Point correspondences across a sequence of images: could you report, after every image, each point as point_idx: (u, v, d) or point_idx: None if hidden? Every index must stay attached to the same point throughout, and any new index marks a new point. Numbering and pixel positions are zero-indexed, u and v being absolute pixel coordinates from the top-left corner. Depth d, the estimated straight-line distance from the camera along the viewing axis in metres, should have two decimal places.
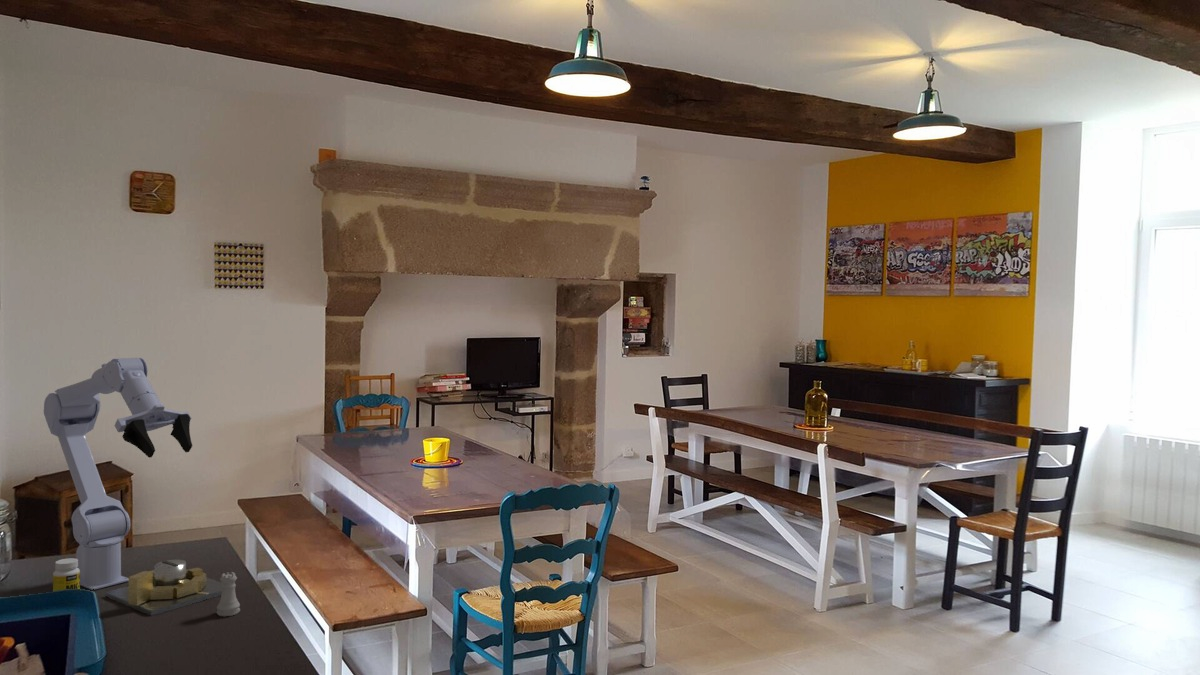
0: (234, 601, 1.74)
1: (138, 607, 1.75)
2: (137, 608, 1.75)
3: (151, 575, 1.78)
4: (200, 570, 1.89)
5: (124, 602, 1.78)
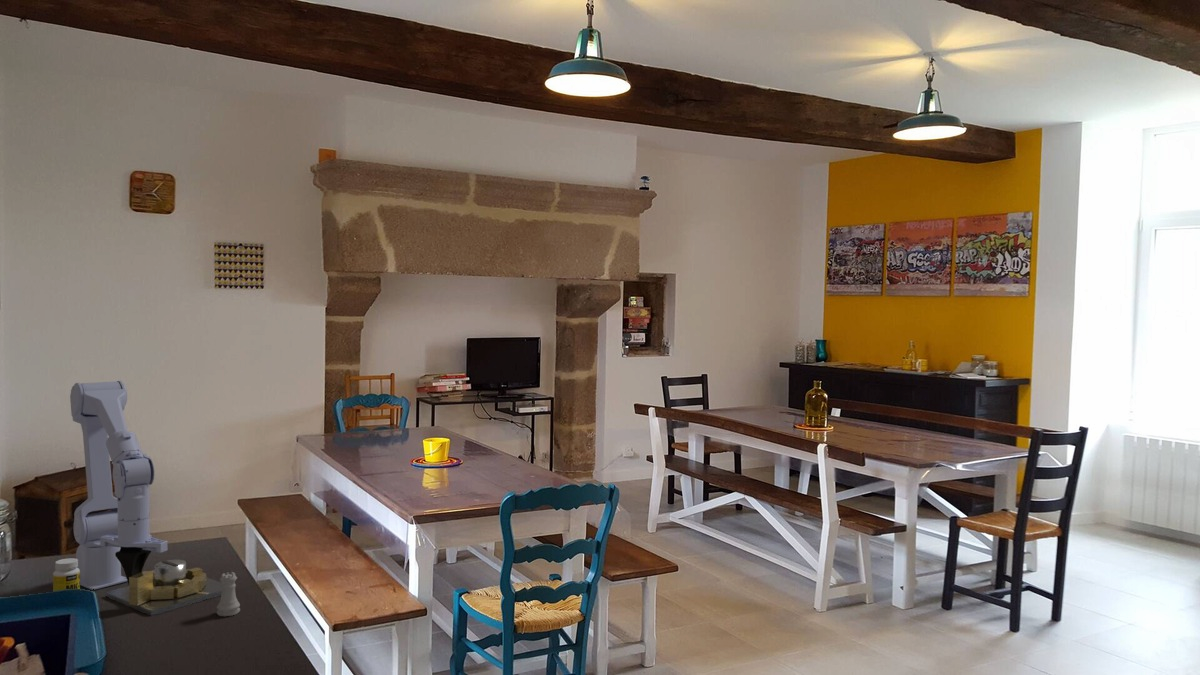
0: (234, 601, 1.74)
1: (138, 607, 1.75)
2: (137, 608, 1.75)
3: (151, 575, 1.78)
4: (200, 570, 1.90)
5: (124, 602, 1.78)
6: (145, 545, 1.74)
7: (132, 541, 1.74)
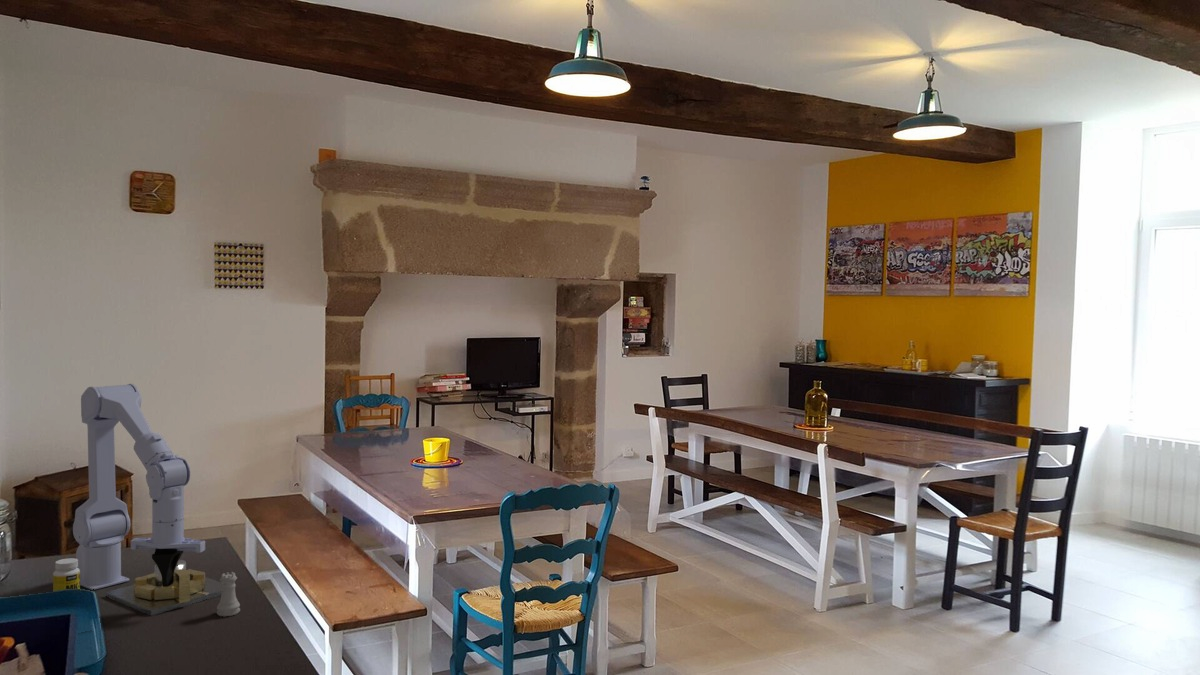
0: (234, 601, 1.74)
1: (138, 607, 1.75)
2: (137, 608, 1.75)
3: None
4: None
5: (124, 602, 1.78)
6: (184, 546, 1.75)
7: (170, 542, 1.74)
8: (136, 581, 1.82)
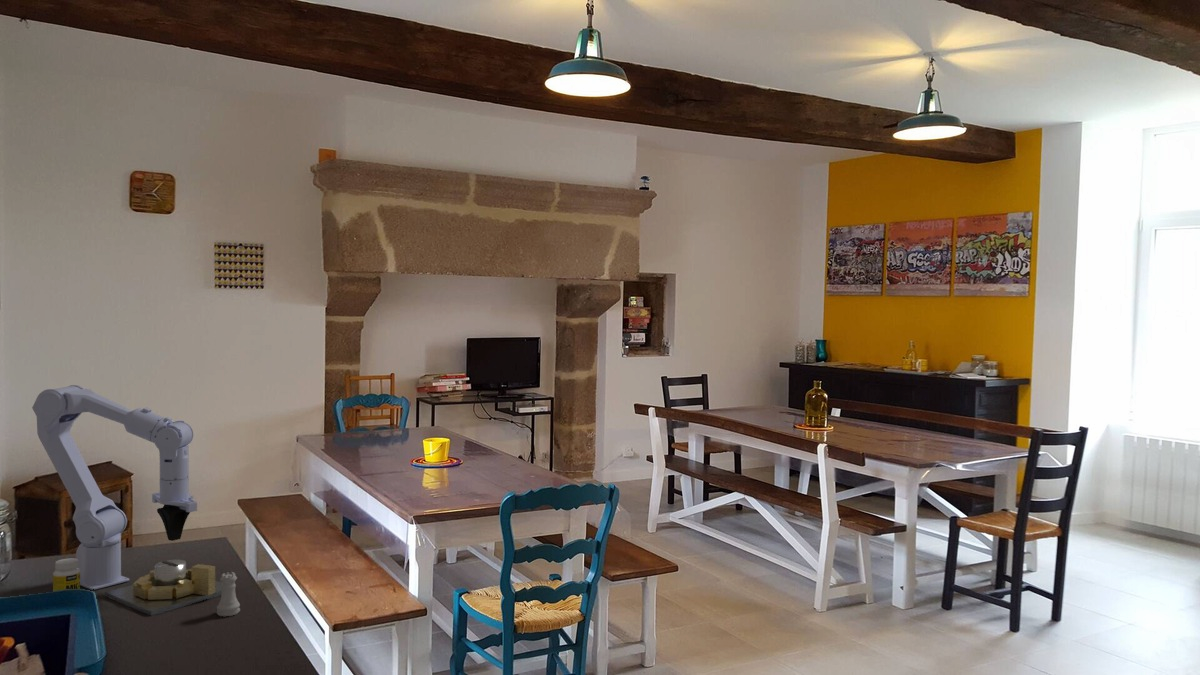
0: (234, 601, 1.74)
1: (138, 607, 1.75)
2: (137, 608, 1.75)
3: None
4: None
5: (124, 602, 1.78)
6: (177, 504, 1.87)
7: (168, 499, 1.88)
8: (142, 585, 1.79)
